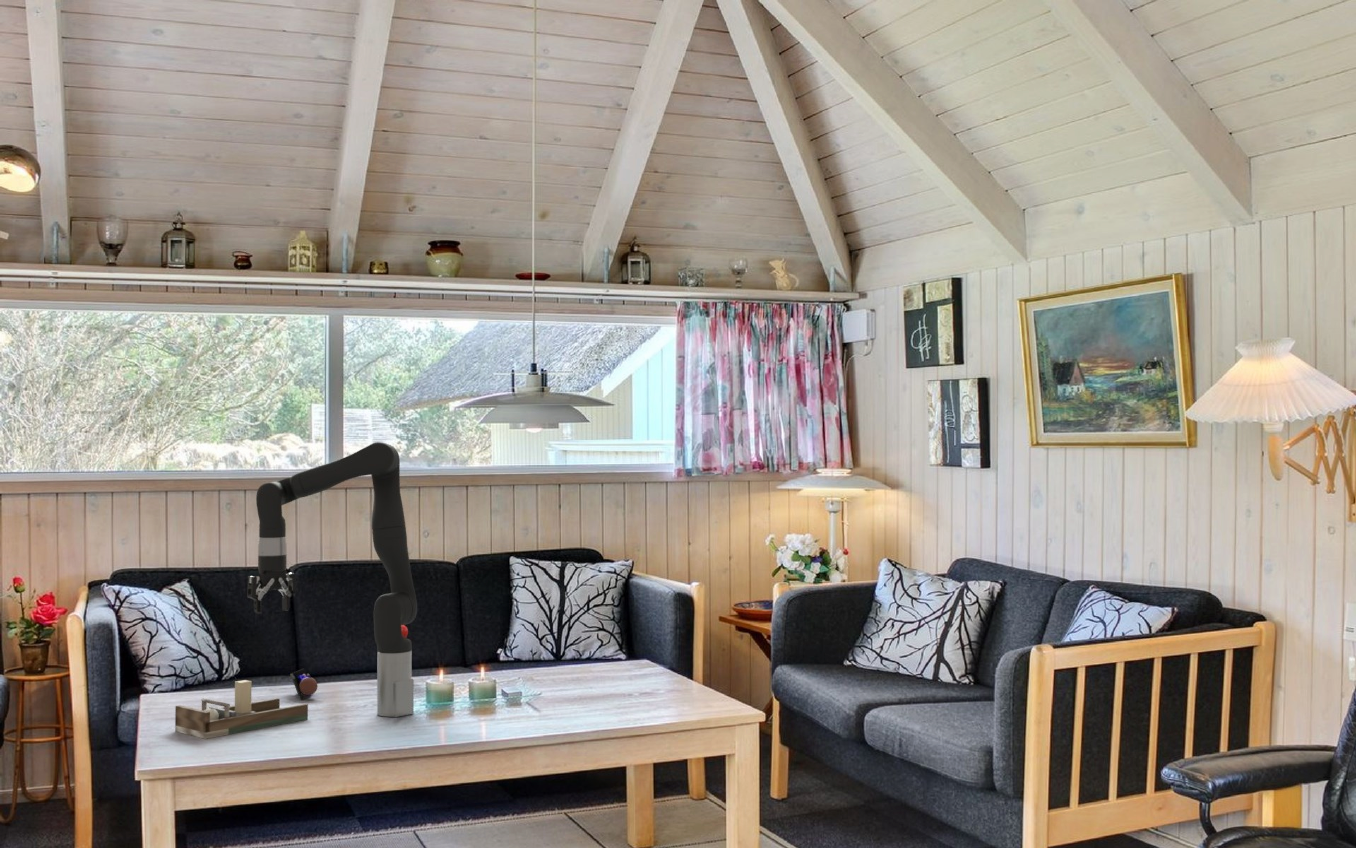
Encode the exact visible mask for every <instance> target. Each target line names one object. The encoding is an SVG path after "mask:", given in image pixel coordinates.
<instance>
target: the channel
mask: <svg viewBox="0 0 1356 848" xmlns="http://www.w3.org/2000/svg"><path fill="white" fill-rule="evenodd" d="M208 704H210V705H215V706H216V705H217V706H220V707H221V708H222V709H224V719H218V720H213V721H210V712H207V711H204V710H206V709H208ZM280 705H281V703H280V698H278V697H276V698H271V699H265V700H259V701H254V702H252V701H251V711H254V712H256V713H252V714H246V715H240V716H235V717H229V710H231V711H235V705H231V704H230V703H226V702H221V701H218V700H213V699H207V698H202V699H201V709H199V708H193V707H190V706H184V705H179V704H178V705H175V707H174V708H175V712H174V713H175V714H174V715H175V717H174V718H175V723H174V724H175V725H174V726H175V727H174V728H175V729H174V732H177V733H180V734H181V733H182V734H185V735H188V736H191V737H197V738H199V739H200V738H201V739H207V740H208V739H211V738H216V737H221V736H228V735H232V734H238V733H243V732H248V731H253V730H259V729H265V728H269V727H275V726H280V725H284V724H289V723H290V724H291V723H295V722H300V721H306V720H309V719H308V718H309V713H308V712H309V709H308V708H309V705H308V704H307V703H302V704H298V705H292V706H287V707H280Z"/></svg>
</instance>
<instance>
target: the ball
mask: <svg viewBox="0 0 1356 848" xmlns="http://www.w3.org/2000/svg"><path fill="white" fill-rule="evenodd" d="M204 711H207V712H210V721H213V720H218V719H219V714H218V712H217V711H216V710H215V709H213V708H209V707H207V709H206V710H204Z"/></svg>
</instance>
